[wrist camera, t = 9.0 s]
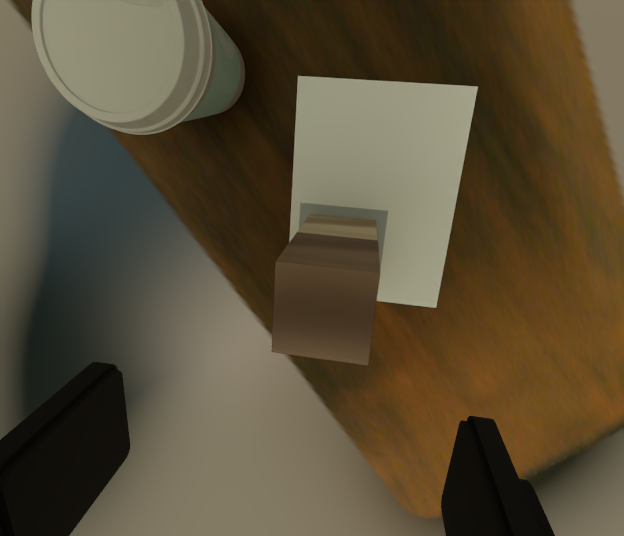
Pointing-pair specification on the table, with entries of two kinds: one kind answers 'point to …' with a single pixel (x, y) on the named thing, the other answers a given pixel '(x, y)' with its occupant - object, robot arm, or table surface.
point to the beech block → (340, 227)
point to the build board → (385, 170)
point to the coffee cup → (138, 60)
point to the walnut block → (326, 297)
